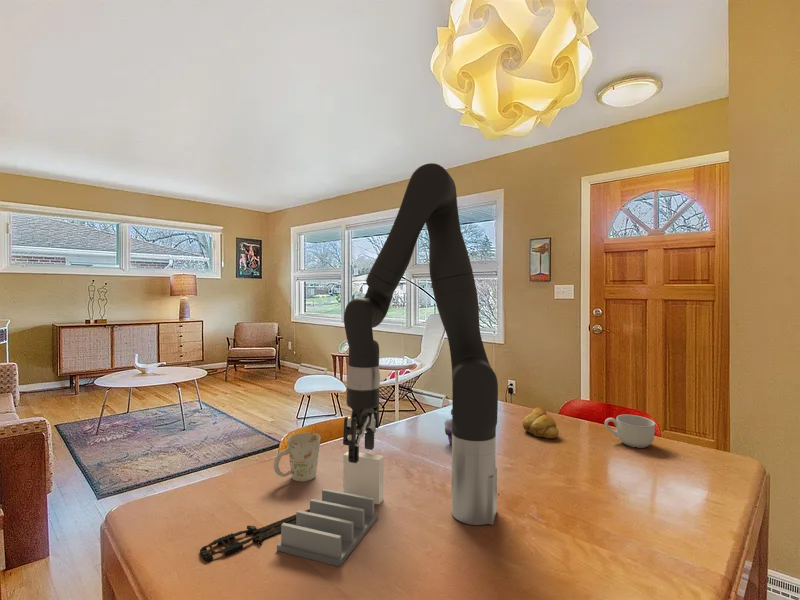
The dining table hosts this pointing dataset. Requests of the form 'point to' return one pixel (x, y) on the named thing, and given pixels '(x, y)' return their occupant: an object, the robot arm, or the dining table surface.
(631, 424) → the teacup
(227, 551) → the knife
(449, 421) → the potion bottle
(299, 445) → the mug
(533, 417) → the bread roll
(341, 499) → the dish rack
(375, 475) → the cream rectangular block
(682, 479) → the dining table surface
